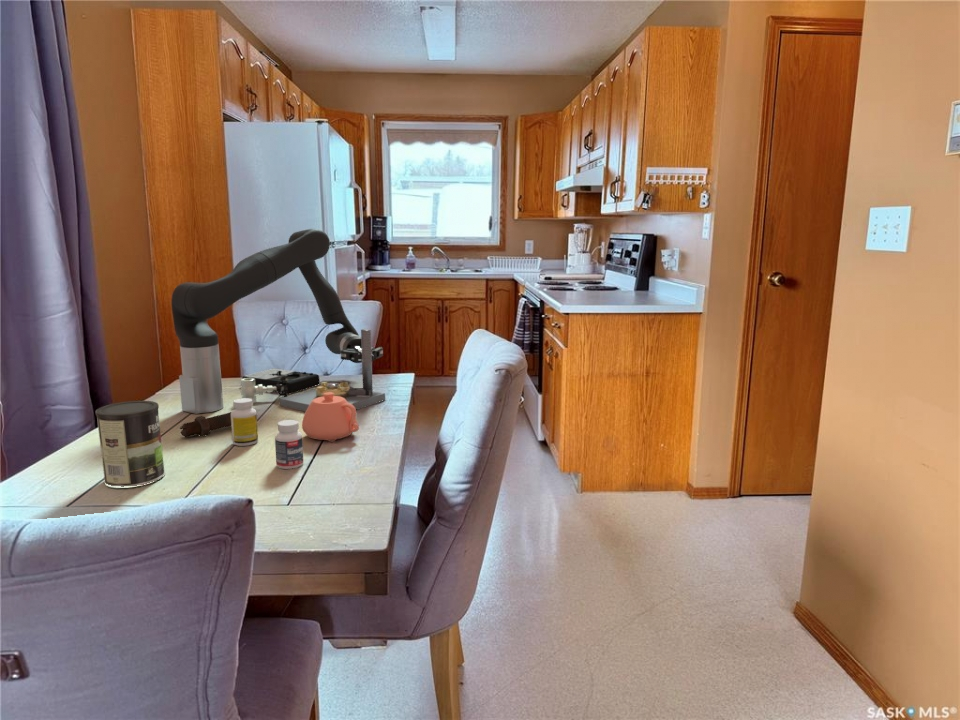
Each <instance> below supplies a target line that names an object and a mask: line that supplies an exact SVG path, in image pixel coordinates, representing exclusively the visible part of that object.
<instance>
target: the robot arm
mask: <svg viewBox="0 0 960 720" xmlns="http://www.w3.org/2000/svg"><path fill="white" fill-rule="evenodd" d="M330 243H331V242H330V238H329V235H328V234H327V233H326V232H324V231H323V230H321V229H319V228H308V229H303V230H299V231H295V232H293V233H292V234H291V235H290V236H289V238H288V243H285V244H281V245H276V246H273V247H269V248H266V249H264V250H260V251H259V252H256V253H254V254H252V255H249V256H247V257H245V258H243V259H241V260H240V261H239V262H238V263H237V264H236V265H235V266H234V268H233V270H232V271H231V272H229V273H228V274H227V275H224V276H222V277H220V278H218V279H214V280H213V281H210V282H203V283H201V282H182V283H180V284H179V285H177V286H176V287H175V288H174V290H173V291H172V294H171V301H170V303H171V313H172V320H173V326H174V332H175V335H176V337H177V338H178V340H179V341H178V342H179V349H180V361H181V362H180V363H181V373H182V374H180V375H179V376H178V379H179V389H180V390H179V391H180V401H181V411H183V412H187V413H190V414H194V415H198V414H204V413H205V414H206V413H212V412H217V411H219V410H222V409H223V408H224V398H223V397H224V396H223V386H222V385H223V383H222V373H221V371H222V370H221V358H220V348H219V347H220V346H219V344H220V343H219V335H218V333H217V332H216V331H215V330H213V329H212V327H210V326H209V324H208V321H207V320H209V319H212V318H214V317H216V316H218V315H219V314H220V313H222V312H223V311H225V310H226V309H228V308H229V307H230V306H232V305H233V304H235V303H236V302H239V300H242V299H243V298H245V297H247V296H250V295H252V294H253V293H256V292H258V291H259V290H261V289H264V288H265V287H267V286H269V285H271V284H273V283H274V282H276V281H278V280H280V279H282V278H283V277H285V276H287V275H288V274H290V273H291V272H293V271H295V270H296V269H297V268H298V270H300V272H301V275H302V276H303V279H304V280H305V282H306V283H307V285H308V287H309V289H310V291H311V293H312V295H313V297H314V299H315V302H316V305H317V306H318V309H319V312H320V316H321V317H322V320H323V322H324V323H325V324H326V325H330V326H331V325H338V324H339V325H342V327H340V328H337V329H335V330H332V331H330V332H328V333H327V335H326V336H325V339H324V341H325V346H326V348H327V349H328V350H329V351H330V352H331V353H332V354H335V355H340V360H345V361H350V362H352V363H354V364H360V363H361V364H362V344H361V335H360V334H359V332H358V331H357V330H356V328H355V327H354V326H353V324H352V323H351V321H350V320H349V318H348V317H347V315H346V312H345V310H344V307H343V305H342V302H341V299H340V297H339V295H338V293H337V291H336V290H335V289H334V287H333V286H332V285H331V283H329V281H328V280H327V279H326V278H325V277H324V275H323V274H322V273H321V271H320V269H319V268H318V265H317V263H316V261H317V260H320V259H322V258H324V257H325V256H326V255H327V253H329V250H330V246H331V244H330ZM371 353H372V363H373V362H375V360H377V359H380V358H382V357H383V356H384V348H383V347H382V346H379V347H376V348H375V347H373V346H371Z"/></svg>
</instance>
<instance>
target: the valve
mask: <svg viewBox="0 0 960 720" xmlns="http://www.w3.org/2000/svg"><path fill="white" fill-rule="evenodd" d="M280 381H282V382H278V383H277V385H276V387H272V385H271V386H267V387H265V386H262V384H260V385H258V386H255V379H254V378H244V379H242V378H241V379H240V386H241V387H240V390H239V391H240V395H241V398H250V399H252V401H253V404H254V403H256V402H257V396H256V395H258V396H263V395H264V394H265V393H266V392H267V393H272V392H274V391H273V390H276V393H277V394H278V395H279V396H280V397H281V396H282V397H281V398H283V397H287V396H288V394H287V391H288V389H287V387H286V384H287V381H286V380H285V376H281V378H280ZM280 391H281V392H280Z"/></svg>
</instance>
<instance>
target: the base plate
mask: <svg viewBox="0 0 960 720" xmlns="http://www.w3.org/2000/svg"><path fill="white" fill-rule="evenodd" d="M349 387H350V388H354V387H353V386H349ZM282 397H283V396H282ZM282 397H280V398H279V407H285V408H288V409H293V410H299V411H302V412H306V410H307V408H308V407H309V405H310V403H311V402H312V401H313V400H314V399H315V398H318V397H316V388H314V389H310V390H306V391H302V392H299V393H293V394H290V395H287V397H283V398H282ZM344 398H345V400H346V401H347V402H348V403H349V404H352V405H353V406H354V407H355V409H357V410H360V409H362V407H363V408H366V407H369V406H371V404H372V405H375V404H377V403H376V402H378V403H380V402H379V401H381V402H383V401H382V400H384V401H386V393H385V392H380V391H374V390H373V395H370V396H365V395H349V396H347V397H344ZM374 403H375V404H374ZM368 405H369V406H368ZM365 406H366V407H365ZM359 408H360V409H359Z"/></svg>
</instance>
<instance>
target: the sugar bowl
mask: <svg viewBox="0 0 960 720" xmlns="http://www.w3.org/2000/svg"><path fill="white" fill-rule="evenodd" d="M304 412H305V413H304V414H303V418H302V424H301V429H302V431H303V432H304V433H305V434H306V435H307V436H308V437H309V438H311V439H313V440H314V439H315V440H319V441H320V440H321V441H323V440H324V441H327V442H329V441H333V442H336V441H337V440H338V439H344V438H346V437H348V436H351V434H353V433H355V432H358V430H359V429H360V427H359V425H358V421H357V410H356V409H355V407H354V406H353V405H352V404H349V403H348V402H347V401H346V400H345V398H343V397H340V396H334V393H332V392H327V393H324V394H323V397H318V398H315V399H314V400H313V401H312V402H311V403H310V405H309V407H308V408H307V410H306V411H304ZM335 440H336V441H335Z"/></svg>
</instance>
